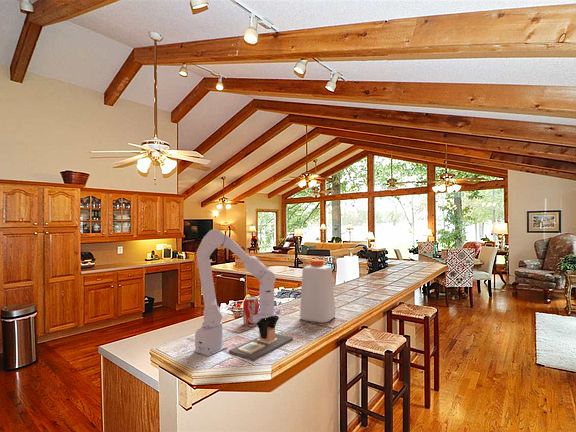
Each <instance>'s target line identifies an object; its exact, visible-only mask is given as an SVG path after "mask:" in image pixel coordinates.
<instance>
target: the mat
mask: <svg viewBox="0 0 576 432" xmlns="http://www.w3.org/2000/svg"><path fill="white" fill-rule="evenodd" d="M275 338H277V341H275V342H273V343H271V344H266V343H263V342H259V341H257V339H259V336H258V337H256V338H253V339H251V340H249V341H246V342H244V343H242V344H240V345H238V346H236V347H233V348H231V349H229V350H228V353H229V354H231V355H235V356H238V357H242V358H244V359H247V360H251V361H256V360H258V359H260V358H262V357H263V356H266V355H268V354H269V353H271V352H273V351H275V350H277V349H280V347H283V346H285V345H286V344H288V343H290V342H292V341H293V340H294V338H293V337H290V336H287V335H282V334H277V333H275ZM251 342H256V343H260V344H264V345H265V347H263V348H261V349H259V350H257V351H255V352H253V353H251V354H249V353H246V352H242V351H239V350H238V348H240V347H242V346H244V345H246V344H249V343H251Z"/></svg>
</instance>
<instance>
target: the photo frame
mask: <svg viewBox="0 0 576 432" xmlns="http://www.w3.org/2000/svg"><path fill="white" fill-rule="evenodd" d="M263 347H265V345H264V344H260V343H256V342H251V343H249V344H246V345H244V346H242V347H240V348H238V350H239V351H242V352H246V353H249V354H251V353H253V352H255V351H257V350H259V349H261V348H263Z"/></svg>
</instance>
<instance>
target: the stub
mask: <svg viewBox="0 0 576 432" xmlns="http://www.w3.org/2000/svg"><path fill="white" fill-rule="evenodd" d="M258 332H259V333H258V334H259V335H258V337H259V339H257V341H259V342H263V343H266V344H271V343H273V342H275V341H277V338H275V334H276V327H275V328H270V327H268V329H267V338H266V339H264V338H261V334H260V331H259V330H258Z"/></svg>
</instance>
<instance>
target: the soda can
mask: <svg viewBox="0 0 576 432" xmlns="http://www.w3.org/2000/svg"><path fill="white" fill-rule="evenodd" d="M242 306H243V307H242V315H243V316H242V319H243V324H244V325H245V326H247V327H252V326H257V324H256V322H253V316H255V315H257V314H258V313H259V312H260V304H259V300H258V297H256V296H246V297H244V300H243V302H242Z"/></svg>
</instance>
